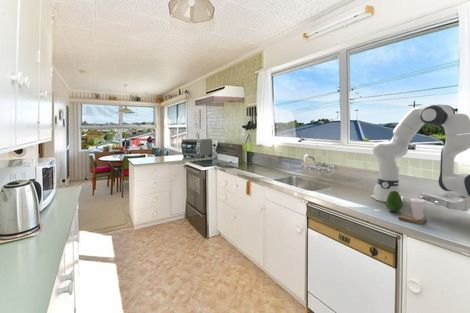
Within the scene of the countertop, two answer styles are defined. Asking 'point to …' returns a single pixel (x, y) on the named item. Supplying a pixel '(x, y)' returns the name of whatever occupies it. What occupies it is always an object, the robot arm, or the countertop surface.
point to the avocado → (394, 201)
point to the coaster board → (411, 218)
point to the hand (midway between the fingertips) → (427, 200)
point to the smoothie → (417, 207)
